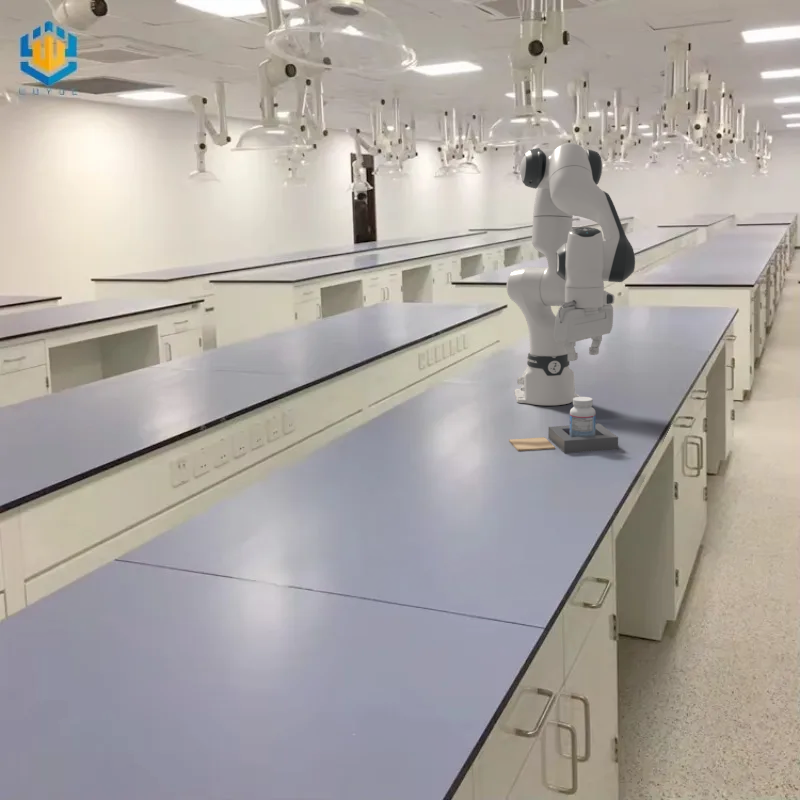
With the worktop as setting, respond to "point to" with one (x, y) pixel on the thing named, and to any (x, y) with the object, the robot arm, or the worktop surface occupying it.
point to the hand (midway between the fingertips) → (583, 357)
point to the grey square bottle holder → (583, 440)
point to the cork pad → (531, 444)
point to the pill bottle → (582, 417)
